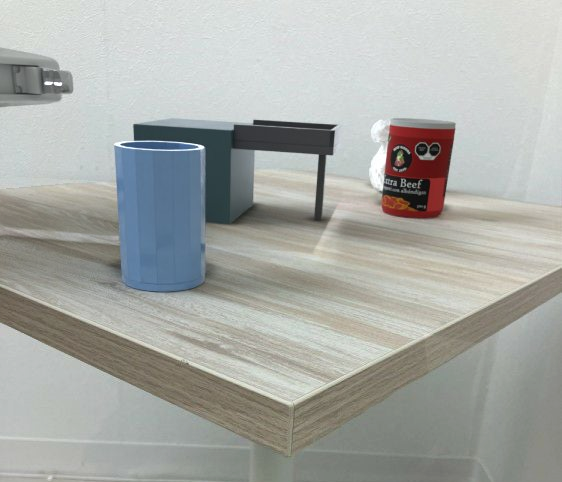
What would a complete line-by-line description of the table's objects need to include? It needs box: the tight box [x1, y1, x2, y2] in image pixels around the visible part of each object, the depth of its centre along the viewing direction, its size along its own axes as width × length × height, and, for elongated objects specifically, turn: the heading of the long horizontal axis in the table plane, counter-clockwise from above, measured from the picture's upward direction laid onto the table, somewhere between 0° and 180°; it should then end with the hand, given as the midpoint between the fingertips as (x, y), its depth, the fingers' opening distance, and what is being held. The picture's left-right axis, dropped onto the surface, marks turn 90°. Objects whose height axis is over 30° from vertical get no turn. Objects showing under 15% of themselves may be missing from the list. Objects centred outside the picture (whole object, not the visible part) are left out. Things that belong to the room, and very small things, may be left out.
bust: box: [368, 118, 392, 192], centre depth 95 cm, size 12×8×11 cm
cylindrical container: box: [113, 140, 206, 293], centre depth 49 cm, size 6×6×10 cm
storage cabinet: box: [132, 117, 344, 225], centre depth 70 cm, size 20×12×10 cm, turn 81°
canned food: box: [380, 117, 456, 219], centre depth 80 cm, size 8×8×11 cm
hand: (24, 81), depth 49 cm, fingers open, 8 cm apart
